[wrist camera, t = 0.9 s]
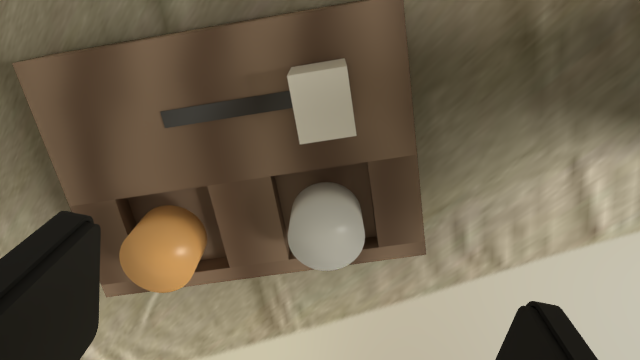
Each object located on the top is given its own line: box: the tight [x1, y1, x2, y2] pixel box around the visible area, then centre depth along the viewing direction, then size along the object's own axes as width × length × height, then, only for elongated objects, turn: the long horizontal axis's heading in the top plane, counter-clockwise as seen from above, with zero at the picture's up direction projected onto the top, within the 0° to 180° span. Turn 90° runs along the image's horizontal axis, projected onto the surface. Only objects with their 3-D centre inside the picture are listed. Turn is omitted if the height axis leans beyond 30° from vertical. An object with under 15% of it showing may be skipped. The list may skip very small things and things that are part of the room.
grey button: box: [288, 182, 365, 271], centre depth 28 cm, size 4×4×3 cm
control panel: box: [12, 0, 426, 297], centre depth 30 cm, size 22×16×4 cm
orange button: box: [119, 205, 207, 293], centre depth 28 cm, size 4×4×3 cm
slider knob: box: [287, 58, 357, 144], centre depth 25 cm, size 3×4×3 cm
